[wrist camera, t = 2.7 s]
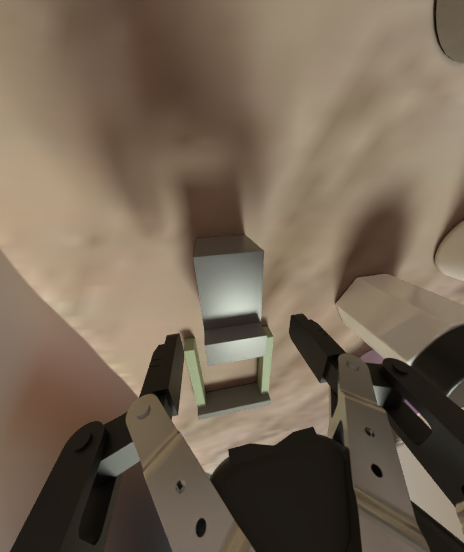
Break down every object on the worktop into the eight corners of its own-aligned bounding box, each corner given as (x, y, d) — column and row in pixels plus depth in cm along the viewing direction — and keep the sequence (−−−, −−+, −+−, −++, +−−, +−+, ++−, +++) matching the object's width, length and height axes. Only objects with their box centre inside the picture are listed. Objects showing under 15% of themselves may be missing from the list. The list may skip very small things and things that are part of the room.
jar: (392, 303, 25) (531, 380, 15) (344, 330, 26) (442, 421, 16) (384, 259, 21) (567, 320, 11) (329, 293, 22) (445, 380, 12)
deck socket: (185, 338, 22) (183, 358, 19) (267, 326, 23) (276, 342, 20) (199, 398, 28) (198, 419, 25) (263, 385, 29) (270, 404, 26)
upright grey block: (196, 238, 16) (191, 266, 10) (244, 234, 17) (272, 258, 10) (206, 310, 20) (207, 366, 14) (245, 304, 21) (265, 355, 14)
